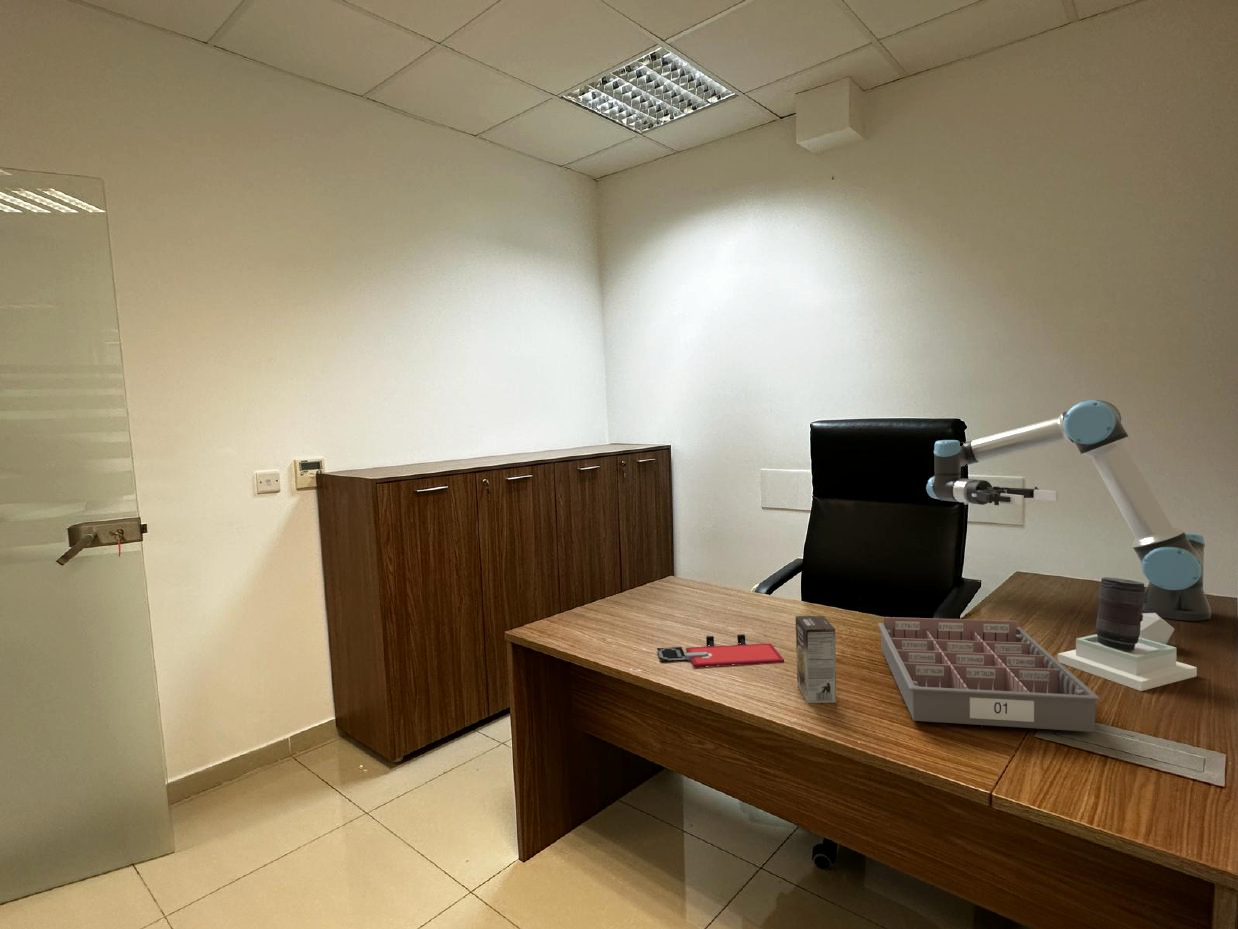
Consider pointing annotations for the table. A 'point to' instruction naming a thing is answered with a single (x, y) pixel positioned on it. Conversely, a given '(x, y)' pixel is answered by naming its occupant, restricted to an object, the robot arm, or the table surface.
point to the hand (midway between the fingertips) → (1040, 498)
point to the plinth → (1128, 677)
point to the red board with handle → (723, 653)
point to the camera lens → (1120, 613)
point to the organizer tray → (983, 675)
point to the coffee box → (816, 659)
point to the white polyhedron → (1155, 628)
